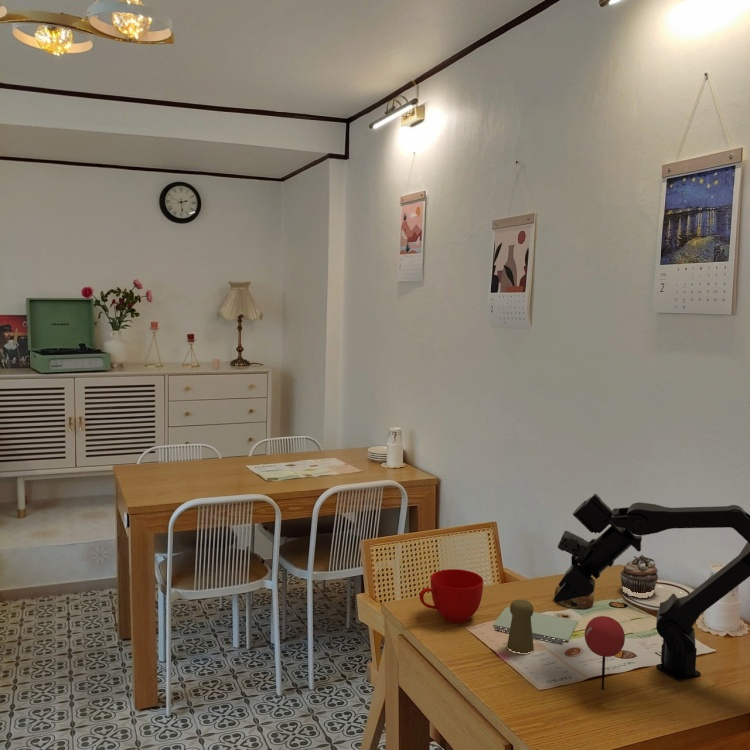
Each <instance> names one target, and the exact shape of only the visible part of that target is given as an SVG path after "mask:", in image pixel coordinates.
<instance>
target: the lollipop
mask: <svg viewBox="0 0 750 750" xmlns="http://www.w3.org/2000/svg"><path fill="white" fill-rule="evenodd" d="M584 640H585V644H586V646H587V647H588V649H589V650H590V652H593V654H595V655H597V656H600V657H602V659H601V661H602V662H601V664H602V665H601V688H600V689H601V690H605V671H606V670H605V669H606V658H611V657H614V656H616V655H618V654H620V652H621V651H622V650H623V648H624V645H625V642H626V641H625V640H626V634H625V630H624V629H623V626H622V625H621V623H619V622H618V621H617V619H615V618H612V617H609V616H606V615H605V616H604V615H600V616H599V615H598V616H596V617H593V618H592V619H590V620H589V621H588V623H587V624H586V627H585V630H584Z"/></svg>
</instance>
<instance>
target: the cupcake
mask: <svg viewBox="0 0 750 750" xmlns="http://www.w3.org/2000/svg"><path fill="white" fill-rule="evenodd" d="M657 573H658V568H657V567H656V562H655V559H653V558H650V557H647V556H646V557H645V555H643V554H641V555H638V557H637V556H633V558H632V559H630V560H628V562H627V563H626V564H625V565H624V566H623V570H622V571H620V574H619V575H620V580H621V581H620V582H621V588H622V587H623V586H624V587H626V588H628V589H630V590H631V591H632V592H636V593H637V592H638V593H646V592H651V591H652V590H654V591H655V588H656V586H657V582H658V578H659V575H658V574H657Z"/></svg>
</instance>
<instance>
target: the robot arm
mask: <svg viewBox="0 0 750 750" xmlns="http://www.w3.org/2000/svg"><path fill="white" fill-rule="evenodd" d="M572 516H573V517H574V518H575V519H576V520H578V521H579V523H581V525H583V527H585V528H586V530H588V532H589V533H591V534H592V533H594V534H600V533H601V534H600V536H598V537H597V538H592V539H591V540H590V541H587V540H586V539H584V538H583V537H580V536H579V535H577V534H574V533H573V532H570V531H569V530H564V531H563V534H562V536H561V538H560V541H559V542H558V545H557V548H558V550H560V551H562V552H564V551H565V552H566V553H568V554H569V555H571V559H570V560H571V562H570V563H571V564H570V567H569V568H568V569H567V570H566V571H565V574H564V576H562V579H561V580H560V581H559V583H558V584H559V586H560V587H561V589H560V590H559V591H558V593H557V594H556V595H555V594H554V597H553V599H552V600H553V601H554V602H555V603H556V604H557V603H559V602H562V601H565V600H569V599H573V598H578V597H582V596H583V597H585V596H586V597H588V596H589V595H590V594H592V593H594V591H595V588H596V580H597V579H599V578H600V576H601V573H602V572H604V570H606V569H607V568H608V567H610V568H611V567H612V566H614V563H615V561H616V559H618V558H619V557H620V556H622V555H623V554H624V552H626V551H627V550H628V549H629V548H630V547H631V546H632V547H633V548H634V549H635V550H636V551H637V552H638V553H639V552H641V550H642V539H643V536H647V535H652V534H653V535H654V534H658V533H661V532H664V531H667V530H672V529H711V528H712V529H717V528H718V529H719V528H722V529H723V528H724V529H726V528H732V529H733V531H735V532H737V533H738V534H739V535H740V537H742V538H743V539H744V540H745V541H746V543H745V545H744V546H743V548H742V549H741V551H740V552H739V554H738V555H737V556H735V558H733V559H732V560H731V561H729V562H728V563H727V564H726V565H724V566H723V567H722V568H720V569H719V570H718V571H716V572H715V573H713V575H712V576H710V577H709V578H708V579H707V580H704V582H702V583H701V584H700V585H699V586H698V587H696V588H695V589H694V590H692V591H691V592H690V593H688V594H687V595H684V596H681V597H678V596H677V595H676V593H672V594H671V595H670V596H669V597H668V599H666V600H665V601H663V602H660V603H659V609H658V610H657V613H656V625H655V626H656V627H655V628H656V630H657V633H658V635H659V636H660V637H661V638H662V644H661V651H660V653H661V654H660V663H658V664H656V665H655V666H656V668H657V669H659V670H660V671H661V672H663V673H665V674H667V675H668V676H670V677H671V678H672V679H675V680H676V681H683V680H688V679H691V678H695V677H699V676H701V675H702V674H701V673H702V672H701V671H699V670H697V669H696V668H697V652H698V651H697V647H696V633H695V628H694V627H693V626H694V624H695V623H696V622H697V620H698V618H699V617H700V616H701V615H702V614H703V613H704V612H706V611H707V609H710V608H711V607H712V606H713V605H715V604H716V603H717V602H719V601H720V600H721V599H722V598H724V597H725V596H726V595H728V594H729V593H730V592H731V591H733V590H734V589H735V588H737V587H739V586H740V585H741V584H742V583H743V582H745V581H746V580H747V579H749V578H750V514H749V513H748V512H746V510H744V508H743V507H741V506H739V505H737V504H731V505H726V506H724V505H723V506H722V505H721V506H719V505H718V506H691V507H690V506H689V507H687V506H686V507H669V506H664V505H663V506H662V505H659V504H655V503H648V502H640V501H639V502H633V503H631V505H630V506H627V507H617V508H613V509H611V508H610V507H609V506H608V505H607V504H606V503H605V502H604V501H603V500H602V498H601V497H600V496H599V495H598V494H597V493H594V494H593V495H592V496H590V497H589V498H587V500H583V502H582V503H581V504H580V505H579V506H578V507H577V508H576V509H575V510H574V512H572ZM609 525H610V526H609ZM608 526H609V527H608ZM607 527H608V528H607ZM606 528H607V529H606ZM604 530H605V531H604ZM603 531H604V532H603Z"/></svg>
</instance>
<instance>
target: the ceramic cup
mask: <svg viewBox="0 0 750 750" xmlns="http://www.w3.org/2000/svg"><path fill="white" fill-rule="evenodd" d="M483 589H484V579H483V577H482V576H481V575H479V574H478V573H476V572H474V571H470V570H466V569H465V570H464V569H459V568H457V569H456V568H453V569H452V568H451V569H450V568H449V569H441V570H438V571H435V572H434V573H432V574H431V576H430V587H426V588H422V590H421V591H420V593H419V600H420V602H421V604H422V605H423V606H424V607H426V608H428V609H431V610H436V611H437V612H438V614H439V615H440V616H441V617H442V619H443V620H444V621H447V622H449V623H453V624H462V623H466V622H468V621H469V620H470V618H472V617H473V616H474V615H475V613H476V612H477V611H478V609H479V607H480V604H481V602H482V598H483V591H484V590H483ZM427 592H430V593H431V599H432V602H433V605H432V604H429V603H426V601H425V599H424V596H425V594H426V593H427Z"/></svg>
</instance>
